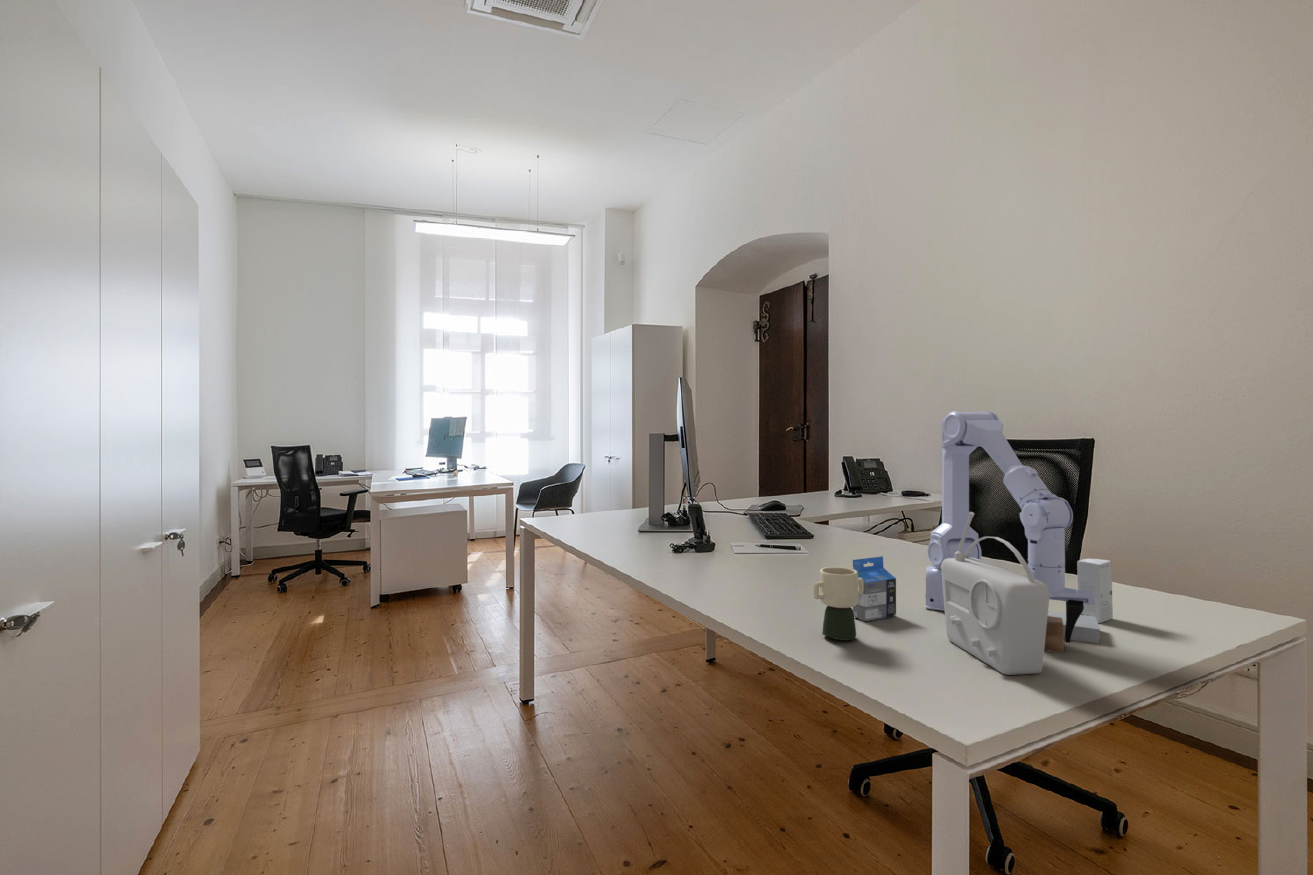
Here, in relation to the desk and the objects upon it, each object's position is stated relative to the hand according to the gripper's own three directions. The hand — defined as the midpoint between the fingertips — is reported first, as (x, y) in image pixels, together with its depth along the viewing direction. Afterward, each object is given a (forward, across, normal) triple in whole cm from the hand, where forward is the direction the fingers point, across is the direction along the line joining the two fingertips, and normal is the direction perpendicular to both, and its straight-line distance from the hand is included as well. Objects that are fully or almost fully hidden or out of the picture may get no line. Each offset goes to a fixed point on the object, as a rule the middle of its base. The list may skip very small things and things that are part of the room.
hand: (1046, 638), depth 114 cm
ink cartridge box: (+2, -31, +3) cm, 31 cm away
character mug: (+2, -34, -14) cm, 37 cm away
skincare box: (+2, +9, +24) cm, 26 cm away
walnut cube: (+2, 0, 0) cm, 2 cm away
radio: (+2, -9, -11) cm, 14 cm away
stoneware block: (+2, +4, +11) cm, 12 cm away
